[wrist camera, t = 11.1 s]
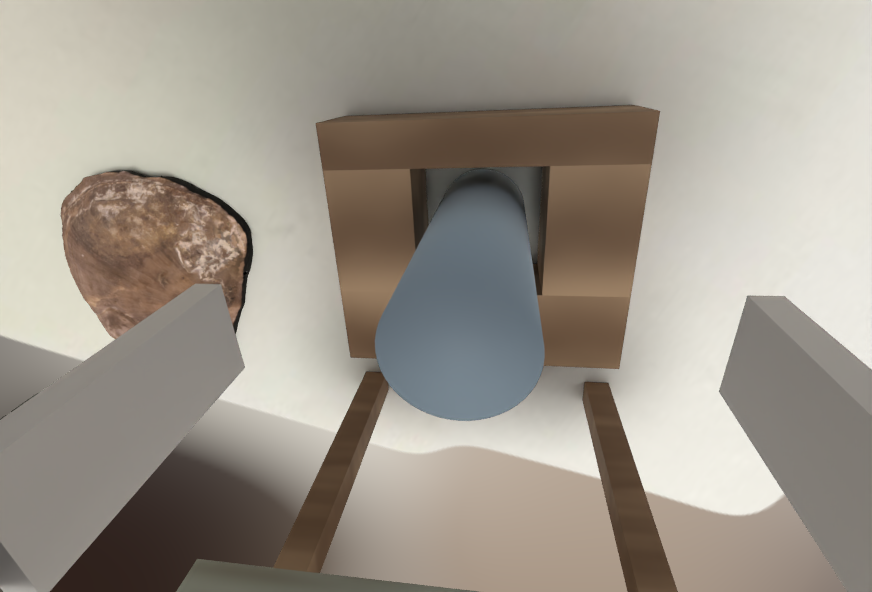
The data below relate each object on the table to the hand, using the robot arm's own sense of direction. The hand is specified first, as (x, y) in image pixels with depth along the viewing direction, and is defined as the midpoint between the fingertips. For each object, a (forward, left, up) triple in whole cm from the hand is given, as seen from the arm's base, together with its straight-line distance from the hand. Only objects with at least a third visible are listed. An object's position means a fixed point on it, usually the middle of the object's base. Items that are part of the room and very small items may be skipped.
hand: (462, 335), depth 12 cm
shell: (+4, -20, -14) cm, 25 cm away
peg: (0, 0, -14) cm, 14 cm away
